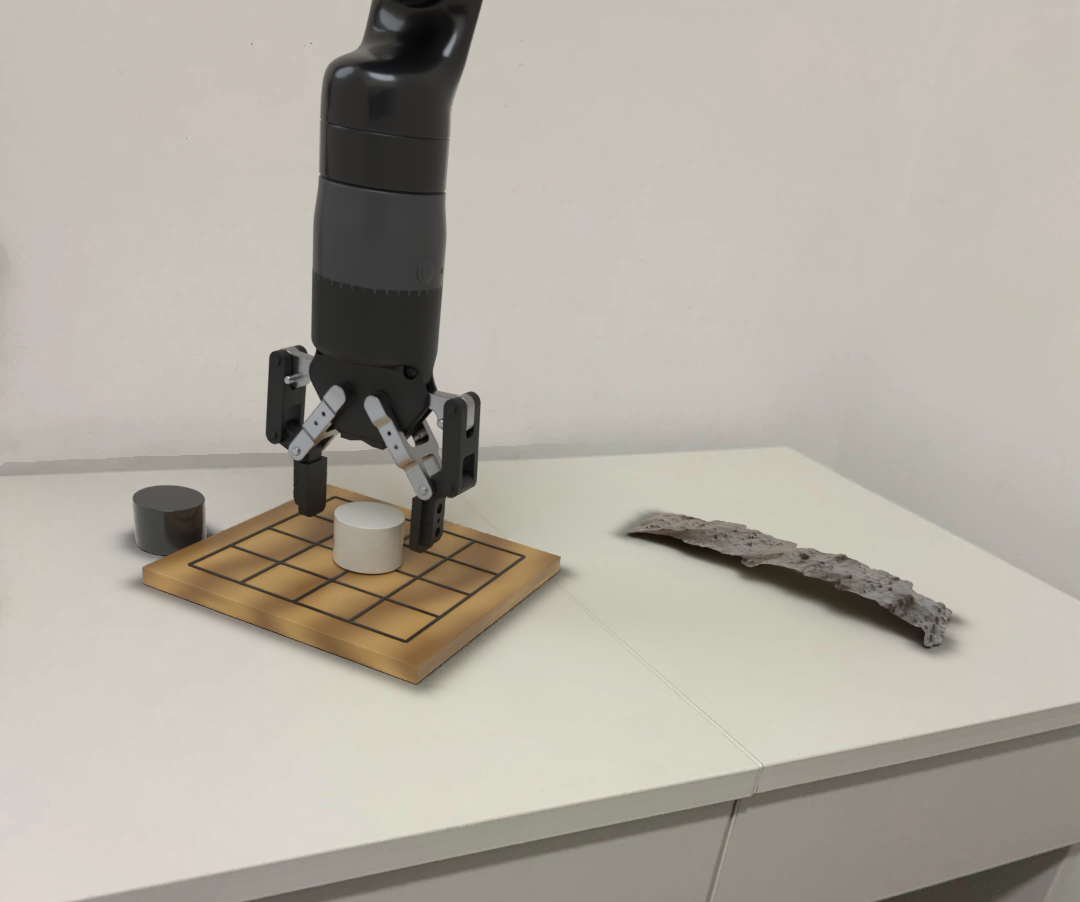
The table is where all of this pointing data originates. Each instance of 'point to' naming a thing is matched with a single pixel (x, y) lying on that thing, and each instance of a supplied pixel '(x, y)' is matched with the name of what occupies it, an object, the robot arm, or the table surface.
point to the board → (356, 586)
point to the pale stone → (368, 537)
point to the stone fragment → (808, 567)
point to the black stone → (168, 518)
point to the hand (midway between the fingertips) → (365, 530)
